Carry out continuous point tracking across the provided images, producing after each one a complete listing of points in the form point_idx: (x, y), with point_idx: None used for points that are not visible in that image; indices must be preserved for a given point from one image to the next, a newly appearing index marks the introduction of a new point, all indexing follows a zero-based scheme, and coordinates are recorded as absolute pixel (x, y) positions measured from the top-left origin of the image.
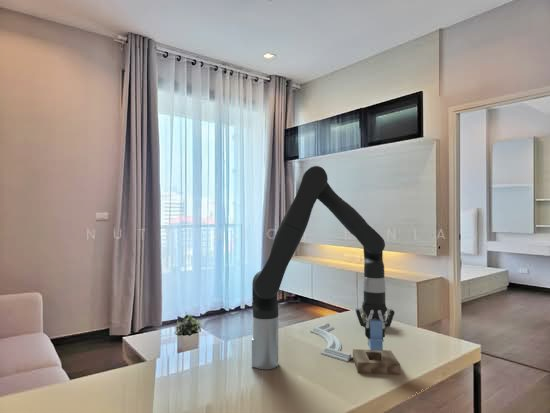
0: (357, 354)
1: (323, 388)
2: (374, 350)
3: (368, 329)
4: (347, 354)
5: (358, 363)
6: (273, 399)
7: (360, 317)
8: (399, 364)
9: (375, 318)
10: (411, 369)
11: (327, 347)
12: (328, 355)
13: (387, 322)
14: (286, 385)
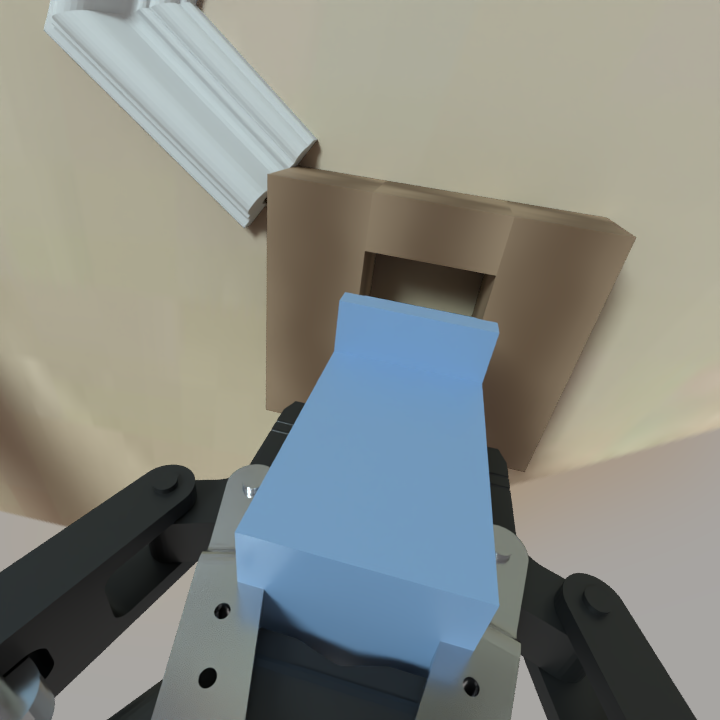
0: (287, 294)
1: (139, 463)
2: (461, 223)
3: None
4: (235, 197)
5: (272, 407)
6: (11, 484)
7: (76, 651)
8: (520, 468)
9: (365, 652)
10: (644, 385)
11: (61, 2)
12: (115, 96)
13: (544, 700)
14: (12, 422)
